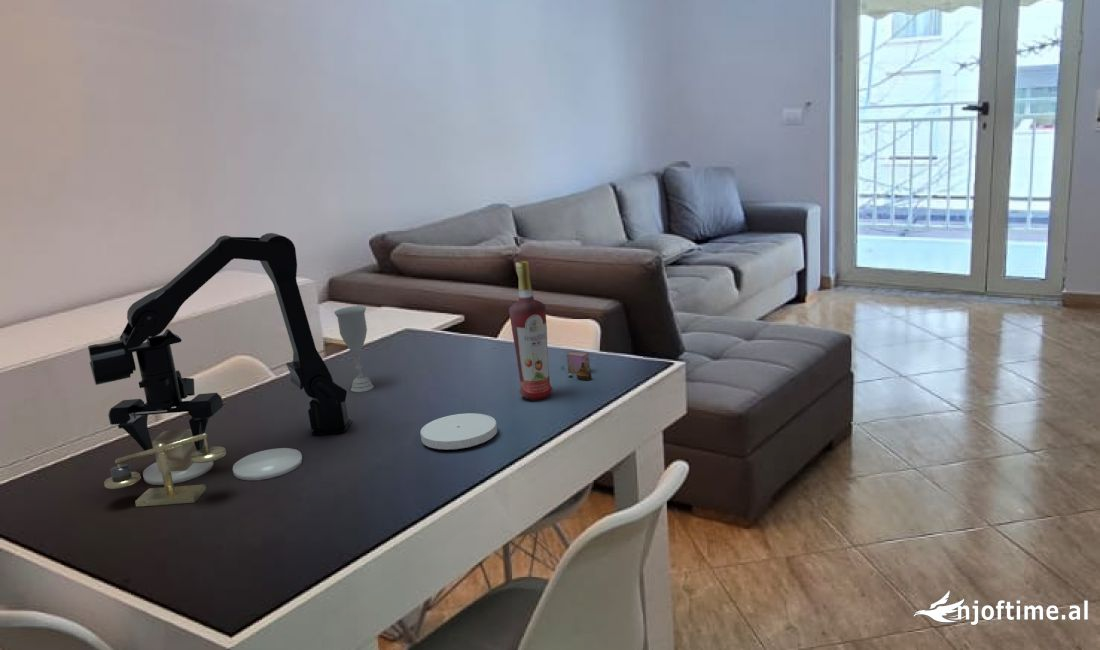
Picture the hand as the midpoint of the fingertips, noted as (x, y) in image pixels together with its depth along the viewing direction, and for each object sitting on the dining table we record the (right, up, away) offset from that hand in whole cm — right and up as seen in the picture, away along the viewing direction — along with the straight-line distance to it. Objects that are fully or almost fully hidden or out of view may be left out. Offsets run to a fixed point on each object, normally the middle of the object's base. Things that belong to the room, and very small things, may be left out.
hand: (175, 452), depth 168 cm
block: (0, -2, +1) cm, 2 cm away
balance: (+4, -6, -11) cm, 13 cm away
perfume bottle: (+77, +12, +34) cm, 85 cm away
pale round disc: (0, -3, +1) cm, 4 cm away
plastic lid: (+51, +2, +3) cm, 51 cm away
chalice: (+26, +9, +39) cm, 48 cm away
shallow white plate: (+17, -2, -1) cm, 17 cm away
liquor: (+65, +8, +22) cm, 69 cm away
